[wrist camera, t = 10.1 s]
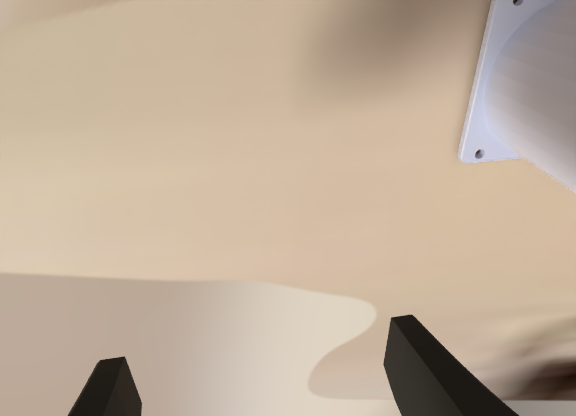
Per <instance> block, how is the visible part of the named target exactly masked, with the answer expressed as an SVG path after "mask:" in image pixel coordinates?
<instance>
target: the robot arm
mask: <svg viewBox="0 0 576 416" xmlns="http://www.w3.org/2000/svg"><path fill="white" fill-rule="evenodd" d="M478 150H480V152H479V153H478V154H477V155H475V153H476V152H477V151H478ZM458 158H459V159H460V160H461V161H462V162H464V163H478V162H488V161H498V160H508V159H519V158H524V159H525V160H527V161H528V162H530V163H531V164H533V165H534V166H535V167H537V168H538V169H540V170H541V171H543V172H544V173H546V174H547V175H549V176H550V177H552V178H553V179H555V180H556V181H558V182H559V183H561V184H562V185H564V186H565V187H567V188H568V189H569V190H571V191H572V192H574V193H575V194H576V0H518V1H517V2H516V3H515V4H514V3H513V0H491V5H490V9H489V14H488V18H487V23H486V27H485V32H484V37H483V41H482V46H481V50H480V55H479V59H478V64H477V68H476V73H475V77H474V82H473V86H472V91H471V95H470V100H469V104H468V109H467V113H466V118H465V122H464V127H463V131H462V136H461V140H460V145H459V150H458ZM384 367H385V371H386V374H387V377H388V380H389V383H390V387H391V390H392V392H393V395H394V398H395V401H396V403H397V406H398V408H399V410H400V413H401V415H402V416H519V415H518V414H516V413H515V412H514V411H513V410H512V409H511V408H509V407H508V406H507V405H506V404H505V403H503V402H502V401H501V400H500V399H499V398H498V397H497V396H495V395H494V394H493V393H492V392H491V391H490V390H489V389H488V388H487V387H485V386H484V385H483V384H482V383H481V382H480V381H479V380H478V379H477V378H476V377H475V376H474V375H473V374H471V373H470V372H469V371H468V370H467V369H466V368H465V367H464V366H463V365H462V364H461V363H460V362H459V361H458V360H457V359H456V358H455V357H454V356H453V355H452V354H451V353H450V352H449V351H448V350H447V349H446V348H445V347H444V346H443V345H442V344H441V343H440V342H439V341H438V340H437V339H436V338H435V337H434V336H433V335H432V334H431V333H430V332H429V331H428V330H427V329H426V328H425V327H424V326H423V325H422V324H421V323H420V322H419V321H418V320H417V319H416V318H415V317H414V316H413V315H405V316H399V317H392V318H391V322H390V328H389V334H388V340H387V346H386V352H385V358H384ZM141 409H142V402H141V400H140V397H139V394H138V391H137V389H136V386H135V383H134V380H133V377H132V375H131V372H130V369H129V366H128V364H127V361H126V358H125V357H119V358H112V359H105V360H100V361H99V362H98V363H97V365H96V367H95V368H94V370H93V372H92V374H91V376H90V377H89V379H88V381H87V383H86V385H85V386H84V388H83V390H82V392H81V394H80V395H79V397H78V399H77V401H76V402H75V404H74V406H73V407H72V409H71V411H70V413H69V414H68V416H141Z"/></svg>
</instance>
